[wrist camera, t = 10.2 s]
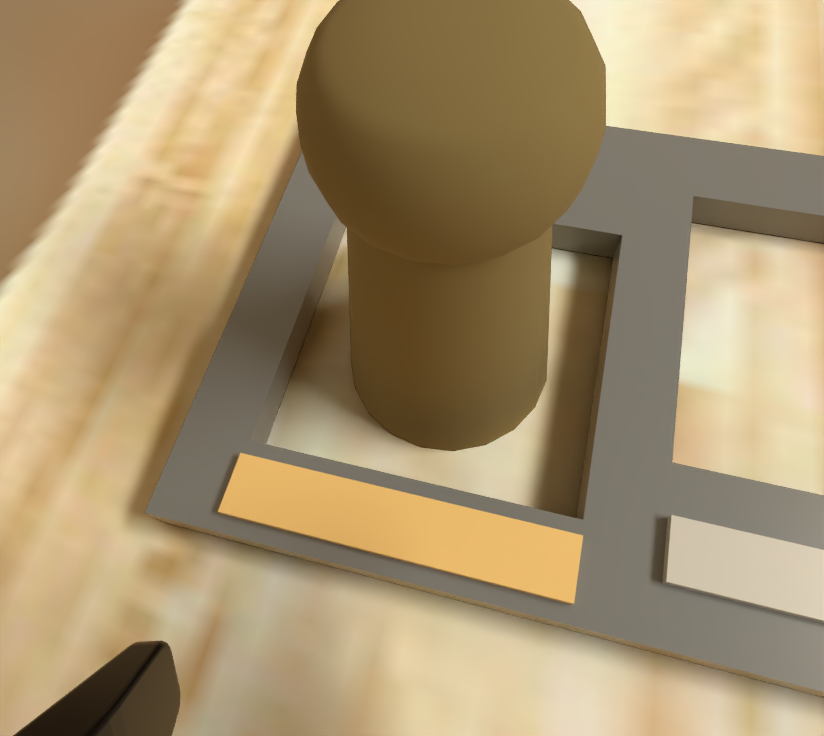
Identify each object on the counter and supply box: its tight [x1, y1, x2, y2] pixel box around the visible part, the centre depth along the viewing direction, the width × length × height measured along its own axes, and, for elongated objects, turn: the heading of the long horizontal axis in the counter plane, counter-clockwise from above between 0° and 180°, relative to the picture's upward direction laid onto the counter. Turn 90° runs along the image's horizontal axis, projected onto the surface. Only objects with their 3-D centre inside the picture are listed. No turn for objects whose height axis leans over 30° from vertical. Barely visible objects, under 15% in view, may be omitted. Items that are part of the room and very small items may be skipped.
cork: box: [296, 0, 606, 451], centre depth 14 cm, size 6×6×11 cm
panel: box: [145, 126, 824, 697], centre depth 18 cm, size 16×24×2 cm, turn 76°
